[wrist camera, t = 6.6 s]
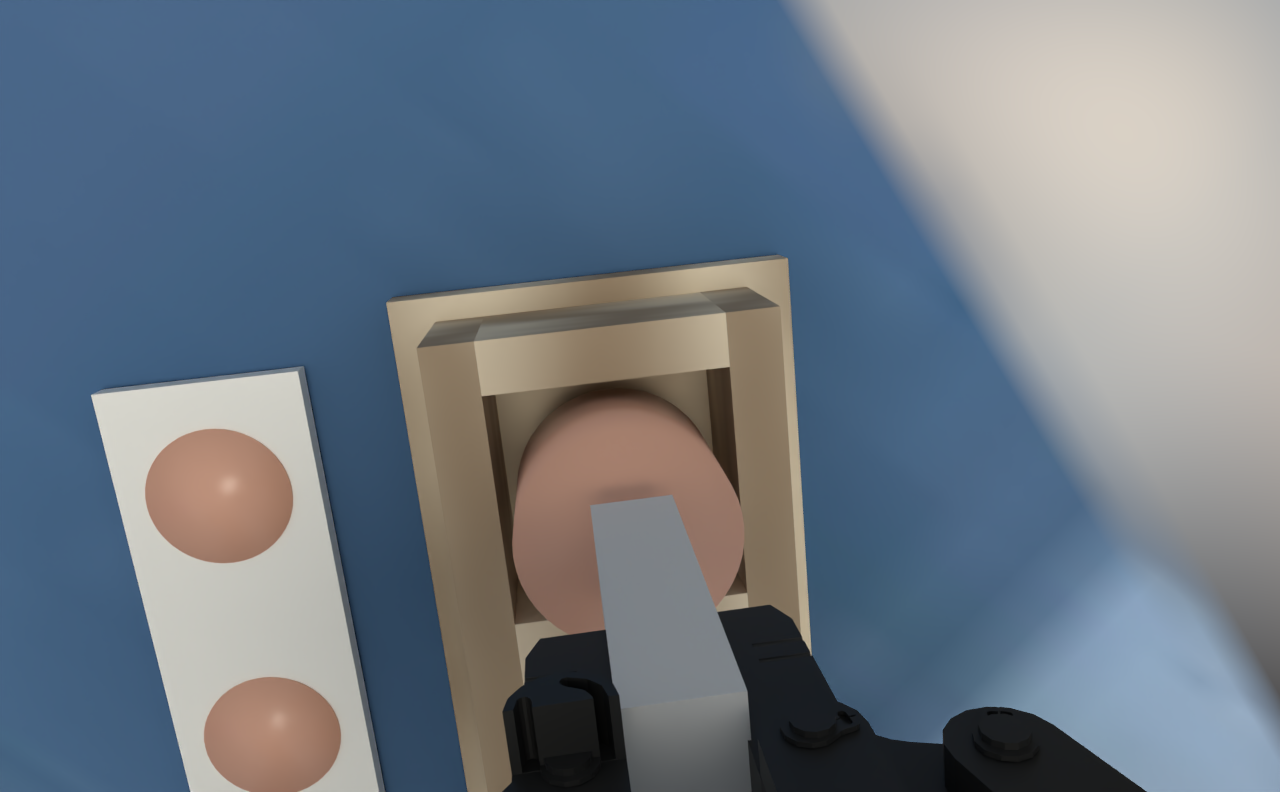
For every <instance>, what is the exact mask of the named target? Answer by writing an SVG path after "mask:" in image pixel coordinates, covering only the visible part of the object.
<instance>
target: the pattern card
mask: <svg viewBox="0 0 1280 792" xmlns="http://www.w3.org/2000/svg"><path fill="white" fill-rule="evenodd" d="M91 396H92V400H93V404H94V408H95V412H96V416H97V420H98V424H99V428H100V432H101V436H102V440H103V444H104V448H105V452H106V456H107V460H108V464H109V468H110V472H111V476H112V480H113V484H114V488H115V492H116V496H117V500H118V504H119V508H120V512H121V516H122V520H123V524H124V528H125V532H126V536H127V540H128V544H129V548H130V552H131V556H132V560H133V564H134V568H135V572H136V576H137V580H138V584H139V588H140V592H141V596H142V600H143V604H144V608H145V612H146V616H147V620H148V624H149V628H150V632H151V636H152V640H153V644H154V648H155V652H156V656H157V660H158V664H159V668H160V672H161V676H162V680H163V684H164V688H165V692H166V696H167V700H168V704H169V708H170V712H171V716H172V720H173V724H174V728H175V732H176V736H177V740H178V744H179V748H180V752H181V756H182V760H183V764H184V768H185V772H186V776H187V780H188V784H189V788H190V792H385V788H384V783H383V778H382V772H381V767H380V762H379V757H378V751H377V746H376V741H375V736H374V731H373V725H372V720H371V715H370V710H369V705H368V699H367V694H366V689H365V684H364V678H363V673H362V668H361V663H360V658H359V652H358V647H357V642H356V637H355V631H354V626H353V621H352V616H351V611H350V605H349V600H348V595H347V590H346V584H345V579H344V574H343V569H342V564H341V558H340V553H339V548H338V543H337V537H336V532H335V527H334V522H333V517H332V511H331V506H330V501H329V496H328V490H327V485H326V480H325V475H324V470H323V464H322V459H321V454H320V449H319V443H318V438H317V433H316V428H315V423H314V417H313V412H312V407H311V402H310V396H309V391H308V386H307V381H306V376H305V370H304V366H302V367H293V368H284V369H275V370H267V371H258V372H249V373H241V374H232V375H223V376H215V377H206V378H197V379H189V380H180V381H171V382H163V383H154V384H145V385H137V386H128V387H119V388H110V389H102V390H100V391H98V392H96V393H94V394H92V395H91Z"/></svg>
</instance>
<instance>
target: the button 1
mask: <svg viewBox="0 0 1280 792" xmlns="http://www.w3.org/2000/svg"><path fill="white" fill-rule="evenodd" d="M666 495H673V498H674V501H675V503H676V506H677V508H678V511H679V514H680V516H681V519H682V521H683V524H684V527H685V529H686V532H687V535H688V537H689V540H690V542H691V545H692V548H693V550H694V553H695V555H696V558H697V561H698V563H699V566H700V568H701V571H702V574H703V576H704V579H705V582H706V584H707V587H708V589H709V592H710V595H711V597H712V600H713V602H714V605H715V608H716V607H717V606H718V604H719V603H720V602H721V600H722V599H723V598H724V596H725V595H726V594H727V592H728V590H729V589H730V587H731V585H732V583H733V582H734V579H735V577H736V574H737V572H738V570H739V566H740V563H741V559H742V555H743V548H744V521H743V514H742V510H741V507H740V503H739V500H738V498H737V495H736V493H735V491H734V489H733V487H732V485H731V483H730V481H729V480H728V478H727V476H726V475H725V473H724V471H723V470H722V468H721V466H720V465H719V463H718V461H717V459H716V458H715V456H714V454H713V453H712V451H711V449H710V448H709V446H708V444H707V443H706V441H705V439H704V438H703V436H702V434H701V433H700V431H699V430H698V428H697V427H696V425H695V424H694V423H693V422H692V421H691V419H690V418H689V417H688V416H687V415H686V414H684V413H683V412H682V411H681V410H680V409H679V408H677V407H676V406H674V405H673V404H671V403H670V402H668V401H666V400H664V399H662V398H660V397H658V396H656V395H653V394H650V393H647V392H644V391H639V390H634V389H624V388H613V389H603V390H597V391H592V392H589V393H586V394H583V395H580V396H578V397H576V398H574V399H572V400H569V401H568V402H566V403H564V404H563V405H561V406H560V407H558V408H557V409H555V410H554V411H553V412H552V413H551V414H549V415H548V416H547V417H546V418H545V419H544V420H543V421H542V423H541V424H540V425H539V426H538V427H537V429H536V430H535V431H534V433H533V434H532V436H531V437H530V439H529V441H528V443H527V445H526V447H525V449H524V452H523V455H522V458H521V461H520V466H519V470H518V480H517V491H516V502H515V513H514V525H513V538H512V548H513V559H514V563H515V568H516V572H517V575H518V578H519V580H520V583H521V585H522V587H523V589H524V591H525V593H526V595H527V596H528V598H529V599H530V601H531V602H532V603H533V605H534V606H535V608H536V609H537V610H538V611H539V612H540V613H541V614H542V615H543V616H544V617H545V618H546V619H547V620H548V621H550V622H551V623H552V624H553V625H555V626H556V627H557V628H559V629H560V630H562V631H564V632H565V633H567V634H569V635H570V634H577V633H585V632H592V631H599V630H605V626H604V617H603V609H602V600H601V592H600V584H599V575H598V567H597V558H596V550H595V542H594V533H593V525H592V516H591V508H590V505H596V504H604V503H611V502H619V501H627V500H635V499H643V498H651V497H658V496H666Z"/></svg>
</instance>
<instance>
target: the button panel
mask: <svg viewBox="0 0 1280 792" xmlns="http://www.w3.org/2000/svg"><path fill="white" fill-rule="evenodd" d="M386 304H387V310H388V316H389V322H390V328H391V334H392V340H393V346H394V352H395V359H396V365H397V371H398V377H399V383H400V389H401V395H402V401H403V407H404V413H405V419H406V425H407V431H408V437H409V443H410V449H411V455H412V461H413V467H414V473H415V479H416V485H417V491H418V497H419V503H420V509H421V515H422V521H423V527H424V533H425V539H426V545H427V551H428V557H429V563H430V569H431V575H432V581H433V587H434V593H435V599H436V605H437V611H438V617H439V623H440V629H441V635H442V641H443V647H444V653H445V659H446V665H447V671H448V677H449V683H450V689H451V695H452V701H453V707H454V713H455V719H456V725H457V731H458V737H459V743H460V749H461V755H462V761H463V767H464V773H465V779H466V785H467V791H468V792H502V791H503V790H504V789H505V788H506V787H507V786H508V785H509V784H510V783H511V782H512V773H511V766H510V760H509V753H508V747H507V740H506V734H505V727H504V720H503V714H502V711H503V708H504V706H505V704H506V701H507V699H508V698H509V697H510V696H511V695H512V694H513V693H514V692H515V691H516V690H518V689H519V688H520V687H521V686H523V685H524V682H525V658H526V657H527V655H528V654H529V653H530V651H531V650H532V649H533V647H534V646H535V645H536V643H537V642H538V641H539V639H541V638H548V637H556V636H563V635H569V634H567V633H565V632H564V631H562V630H560V629H559V628H557V627H556V626H555V625H553V624H552V623H551V622H550V621H548V620H547V619H546V618H545V617H544V616H543V615H542V614H541V613H540V612H539V611H538V610H537V609H536V608H535V606H534V605H533V603H532V602H531V601H530V599H529V598H528V596H527V595H526V593H525V591H524V589H523V587H522V585H521V583H520V580H519V578H518V575H517V572H516V568H515V563H514V559H513V548H512V538H513V525H514V513H515V502H516V491H517V480H518V470H519V466H520V461H521V458H522V455H523V452H524V449H525V447H526V445H527V443H528V441H529V439H530V437H531V436H532V434H533V433H534V431H535V430H536V429H537V427H538V426H539V425H540V424H541V423H542V421H543V420H544V419H545V418H546V417H547V416H548V415H549V414H551V413H552V412H553V411H554V410H555V409H557V408H558V407H560V406H561V405H563V404H564V403H566V402H568V401H569V400H572V399H574V398H576V397H578V396H580V395H583V394H586V393H589V392H592V391H597V390H603V389H613V388H624V389H634V390H639V391H644V392H647V393H650V394H653V395H656V396H658V397H660V398H662V399H664V400H666V401H668V402H670V403H671V404H673V405H674V406H676V407H677V408H679V409H680V410H681V411H682V412H683V413H684V414H686V415H687V416H688V417H689V418H690V419H691V421H692V422H693V423H694V424H695V425H696V427H697V428H698V430H699V431H700V433H701V434H702V436H703V438H704V439H705V441H706V443H707V444H708V446H709V448H710V449H711V451H712V453H713V454H714V456H715V458H716V459H717V461H718V463H719V465H720V466H721V468H722V470H723V471H724V473H725V475H726V476H727V478H728V480H729V481H730V483H731V485H732V487H733V489H734V491H735V493H736V495H737V498H738V500H739V503H740V507H741V510H742V514H743V521H744V548H743V555H742V559H741V563H740V566H739V570H738V572H737V574H736V577H735V579H734V582H733V583H732V585H731V587H730V589H729V590H728V592H727V594H726V595H725V596H724V598H723V599H722V600H721V602H720V603H719V604H718V606H717V607H716V610H717V612H720V611H727V610H734V609H742V608H749V607H756V606H763V605H772V606H773V607H775V608H776V609H778V610H780V611H781V612H783V613H784V614H786V615H787V616H789V617H790V618H792V619H793V621H794V623H795V625H796V626H797V628H798V630H799V632H800V634H801V636H802V639H803V641H805V643H806V645H807V647H808V649H809V650H810V654H811V637H810V621H809V604H808V587H807V571H806V554H805V537H804V520H803V504H802V487H801V470H800V454H799V437H798V420H797V404H796V387H795V370H794V354H793V337H792V320H791V304H790V287H789V270H788V258H786V257H783V256H780V255H771V256H762V257H753V258H744V259H735V260H725V261H716V262H707V263H698V264H689V265H680V266H671V267H662V268H653V269H644V270H635V271H626V272H617V273H608V274H599V275H590V276H581V277H572V278H563V279H554V280H545V281H536V282H527V283H518V284H509V285H500V286H491V287H482V288H472V289H463V290H454V291H445V292H436V293H427V294H418V295H409V296H400V297H392V298H391V299H390V300H389V301H388V302H387V303H386ZM811 656H812V654H811Z"/></svg>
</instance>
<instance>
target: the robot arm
mask: <svg viewBox="0 0 1280 792" xmlns="http://www.w3.org/2000/svg"><path fill="white" fill-rule="evenodd" d="M590 508H591V516H592V525H593V533H594V542H595V550H596V558H597V567H598V575H599V584H600V592H601V600H602V609H603V617H604V626H605V630H599V631H592V632H585V633H577V634H570V635H563V636H556V637H548V638H541V639H539V641H538V642H537V643H536V645H535V646H534V647H533V649H532V650H531V651H530V653H529V654H528V655H527V657H526V658H525V682H524V685H523V686H521V687H520V688H519V689H518V690H516V691H515V692H514V693H513V694H512V695H511V696H510V697H509V698H508V699H507V701H506V704H505V706H504V708H503V711H502V714H503V720H504V727H505V734H506V740H507V747H508V753H509V760H510V766H511V773H512V782H511V783H510V784H509V785H508V786H507V787H506V788H505V789H504V790H503V791H502V792H1146V791H1145V790H1143V789H1142V788H1141V787H1139V786H1138V785H1137V784H1135V783H1134V782H1132V781H1131V780H1130V779H1128V778H1127V777H1125V776H1124V775H1123V774H1121V773H1120V772H1118V771H1117V770H1116V769H1114V768H1113V767H1111V766H1110V765H1109V764H1107V763H1106V762H1104V761H1103V760H1102V759H1100V758H1099V757H1097V756H1096V755H1095V754H1093V753H1092V752H1091V751H1089V750H1088V749H1086V748H1085V747H1084V746H1082V745H1081V744H1079V743H1078V742H1077V741H1075V740H1074V739H1072V738H1071V737H1070V736H1068V735H1067V734H1065V733H1064V732H1063V731H1061V730H1060V729H1058V728H1057V727H1056V726H1054V725H1053V724H1051V723H1049V722H1047V721H1045V720H1043V719H1041V718H1040V717H1038V716H1036V715H1034V714H1030V713H1027V712H1023V711H1019V710H1015V709H1012V708H1004V707H1000V708H998V707H983V708H978V709H972V710H966V711H964V712H962V713H960V714H959V715H957V716H955V717H953V718H951V719H950V720H949V722H948V723H947V725H946V726H945V728H944V729H943V744H933V743H917V742H906V741H899V740H891V739H888V738H884V737H881V736H877V735H875V733H874V731H873V730H872V728H871V726H870V724H869V723H868V721H867V720H866V719H865V718H864V717H863V716H862V715H861V714H860V713H859V712H858V711H857V710H855V709H853V708H851V707H849V706H847V705H844V704H842V703H840V702H837V700H836V698H835V696H834V695H833V693H832V691H831V689H830V687H829V685H828V684H827V682H826V680H825V678H824V676H823V674H822V672H821V671H820V669H819V667H818V665H817V663H816V661H815V660H814V658H813V656H811V654H810V650H809V649H808V647H807V645H806V643H805V641H803V639H802V636H801V634H800V632H799V630H798V628H797V626H796V625H795V623H794V621H793V619H792V618H790V617H789V616H787V615H786V614H784V613H783V612H781V611H780V610H778V609H776V608H775V607H773V606H772V605H763V606H756V607H749V608H742V609H734V610H727V611H720V612H717V610H716V608H715V605H714V602H713V600H712V597H711V595H710V592H709V589H708V587H707V584H706V582H705V579H704V576H703V574H702V571H701V568H700V566H699V563H698V561H697V558H696V555H695V553H694V550H693V548H692V545H691V542H690V540H689V537H688V535H687V532H686V529H685V527H684V524H683V521H682V519H681V516H680V514H679V511H678V508H677V506H676V503H675V501H674V498H673V495H666V496H658V497H651V498H643V499H635V500H627V501H619V502H611V503H604V504H596V505H590Z"/></svg>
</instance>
